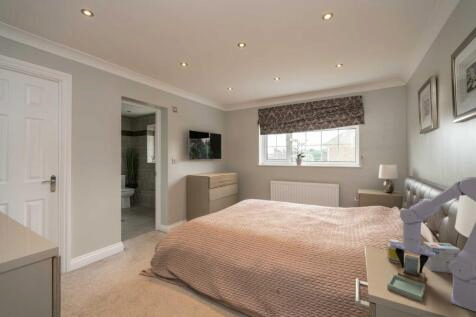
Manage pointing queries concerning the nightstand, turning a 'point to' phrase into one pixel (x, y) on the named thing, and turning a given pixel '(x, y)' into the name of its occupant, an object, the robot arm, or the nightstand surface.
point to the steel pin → (411, 265)
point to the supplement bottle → (392, 252)
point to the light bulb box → (440, 256)
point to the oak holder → (420, 279)
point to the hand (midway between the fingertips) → (411, 269)
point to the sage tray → (406, 287)
